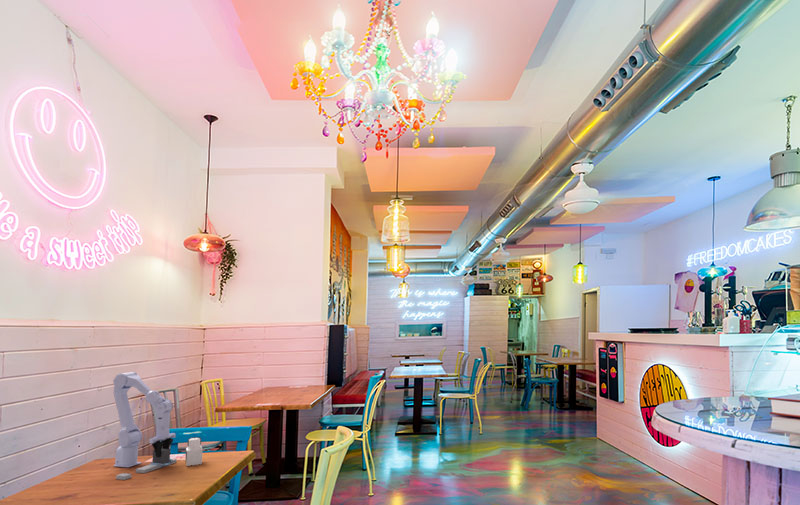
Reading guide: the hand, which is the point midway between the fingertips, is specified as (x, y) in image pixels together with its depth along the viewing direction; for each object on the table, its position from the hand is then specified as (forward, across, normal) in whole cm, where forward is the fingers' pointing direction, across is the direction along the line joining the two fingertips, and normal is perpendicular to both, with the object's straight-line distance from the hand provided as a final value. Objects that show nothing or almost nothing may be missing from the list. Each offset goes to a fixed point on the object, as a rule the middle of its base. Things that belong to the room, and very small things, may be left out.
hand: (161, 456), depth 239 cm
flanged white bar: (+4, -8, 0) cm, 9 cm away
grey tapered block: (+3, 0, 0) cm, 3 cm away
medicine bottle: (+5, +7, -13) cm, 15 cm away
